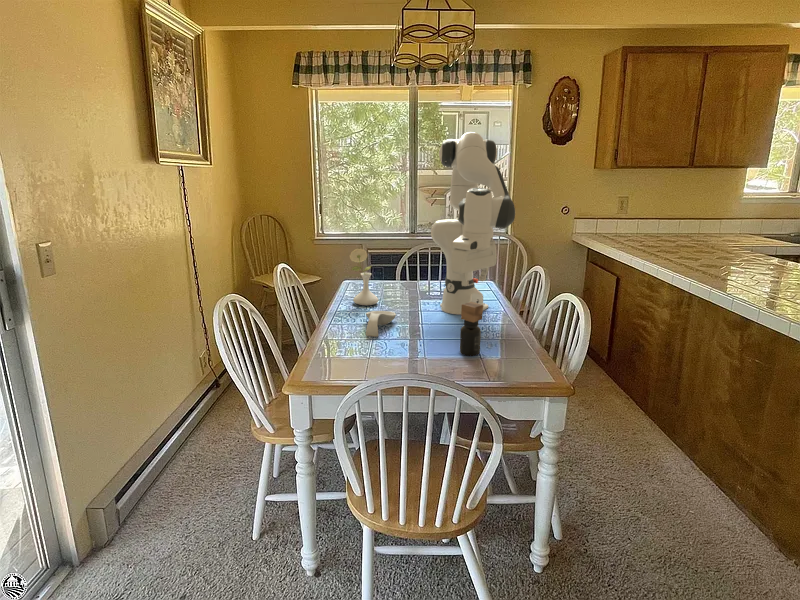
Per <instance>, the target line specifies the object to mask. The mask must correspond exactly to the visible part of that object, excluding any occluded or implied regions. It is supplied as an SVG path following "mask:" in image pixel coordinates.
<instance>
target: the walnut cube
mask: <svg viewBox="0 0 800 600" xmlns="http://www.w3.org/2000/svg"><path fill="white" fill-rule="evenodd" d="M483 312H484V310H483V305H482V304H478V303H474V302H468V303H465V304H462V309H461V314H460V320H463V321H464V320H466V321H470V322H476V321H478V322H479V321H481V320H483V315H484V313H483Z"/></svg>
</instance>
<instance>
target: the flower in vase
mask: <svg viewBox="0 0 800 600" xmlns="http://www.w3.org/2000/svg"><path fill="white" fill-rule="evenodd" d="M348 256H349V259H350V261H351V262H355V263H359V264H361V263H362V262H364V261H366V260H367V258H368V252H367V251H366V249H364V248H355V249H353V250H352V251H351V252H350V254H349V255H348ZM372 266H373V265H369V266H366V267H364V269H363V268H362V266H361V265H359V266H357V265H356V266H353V267H352V268H351V269H350V270H351V271H355V272H356V271H357V272H358V271H360V270H361V271H362V272H361V273H359V274H360V276H361V277H362V282H363V288H362V290H361V291H360V292H359V293H358V294H357V295H355V296H354V297H353V300H352V301H353V303H354V304H356V305H360V306H372V305H375V304H377V303H379V301H380V300H379V298H378V297H377V296H376V294H374V293H373V292H372V291H371V290H370V289H369V281H370V278H371V276H372V273H371V272H367V271H369V270H370V269H372Z"/></svg>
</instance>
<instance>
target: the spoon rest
mask: <svg viewBox="0 0 800 600" xmlns="http://www.w3.org/2000/svg"><path fill="white" fill-rule="evenodd" d="M365 315H366V317H367V319H368V322H367V325H366V329H365V337H371V338H372V337H373V338H374V337H375V338H377V337H379V328H378V327H379V326H386V325H388V324H390V323H391V322H392V321H393V320H395V317H396V315H397V314H396V313H395V312H394V311H389V310H371V311H368V312H366V313H365Z"/></svg>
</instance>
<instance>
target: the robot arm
mask: <svg viewBox="0 0 800 600" xmlns="http://www.w3.org/2000/svg"><path fill="white" fill-rule="evenodd" d="M497 156H498V148H497V144H496V142H495V141H494V140H492V139H489V138H488V139H487V138H485V139H484V138H483V137H482V135H481V134H479V133H477V132H475V131H469V132H465V133H464V134H463V135H461V137H460V138H456V139H453V138H448V139H445V140H444V141H442V143H441V146H440V147H439V151H438V157H439V160H440V162H441V165H442V166H443V167H446V168H452V171H451V178H450V195H449V202H450V206H451V207H452V208H453V209H455V211H458V215H457V219H454V218H453V219H451V218H450V219H449V218H445V219H439V220H436V221H435V222H434V223H433V224H432V227H431V229H430V235H431V236H430V237H431V239H432V241H433V242H434V244H436V245H438V247H439V248H440V249H441V250H442V252H443V254H444V257H445V259H446V260H445V261H446V277H445V280H444V286H445V288H444V289H443V293H442V301H441V303H440V304H439V306H440V309H441V311H442V312H444V313H447V314H453V315H461V309H462V304H465V303H468V302H474V303H478V304H482V305H483V311H485V310H486V309H488V308H489V304H487V303H485V302H484V295H483V293H482V292H481V291H479V290H478V288H477V287H476V285H475V284H478V283H479V281H480V282H484V281H487V275H488V273H489V269H490V268H491V267H495V266H496V265H497V260H498V259H497V258H498V257H497V256H498V255H497V245H496V241H495V239H494V229H493V228H496V229H504V230H505V229H506V228H508V227H509V226H511V225H512V224H513V223H514V221H515V219H516V218H515V217H516V208H515V204H514V201H513V200H512V198H511V196H510V193H509V191H508V188H507V186H506V183H505V179H504V178H503V174H502V172H501V170H500V168H499V167H498V166H497V165H495V163H496V159H497V158H498V157H497ZM479 185H481V186H485V187H487V188H484V187H479ZM488 188H489V189H488ZM479 270H480V271H481V272H480V275H478V278H475V277H474V272H475V271H479Z"/></svg>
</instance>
